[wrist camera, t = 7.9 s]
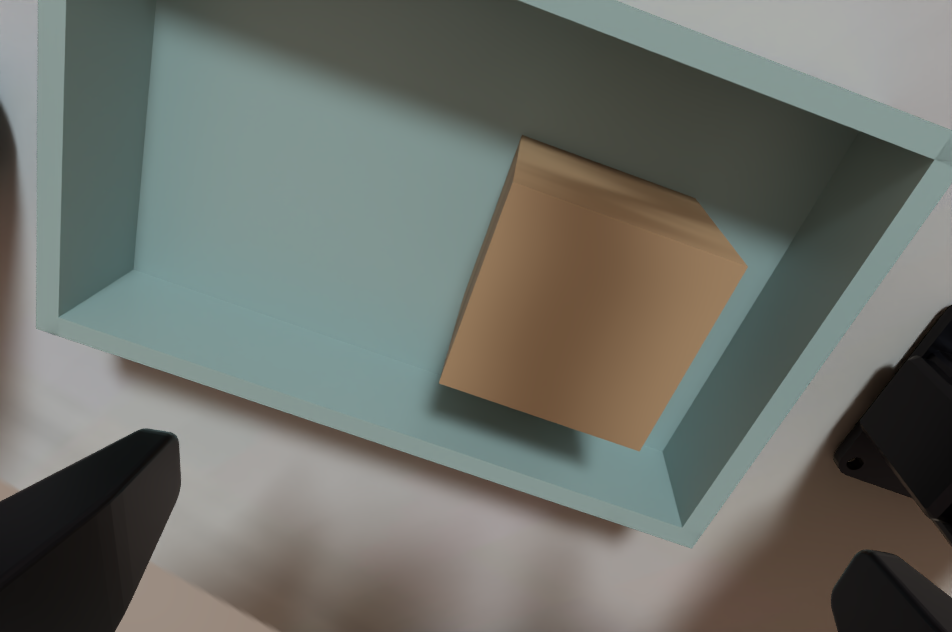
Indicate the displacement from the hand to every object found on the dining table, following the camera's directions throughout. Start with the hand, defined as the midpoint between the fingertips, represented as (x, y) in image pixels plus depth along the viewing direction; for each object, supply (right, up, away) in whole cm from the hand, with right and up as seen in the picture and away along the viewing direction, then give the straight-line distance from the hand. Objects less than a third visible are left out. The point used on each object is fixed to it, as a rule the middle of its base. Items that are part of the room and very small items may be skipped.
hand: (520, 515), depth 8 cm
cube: (+2, +5, +10) cm, 11 cm away
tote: (-1, +6, +10) cm, 12 cm away
